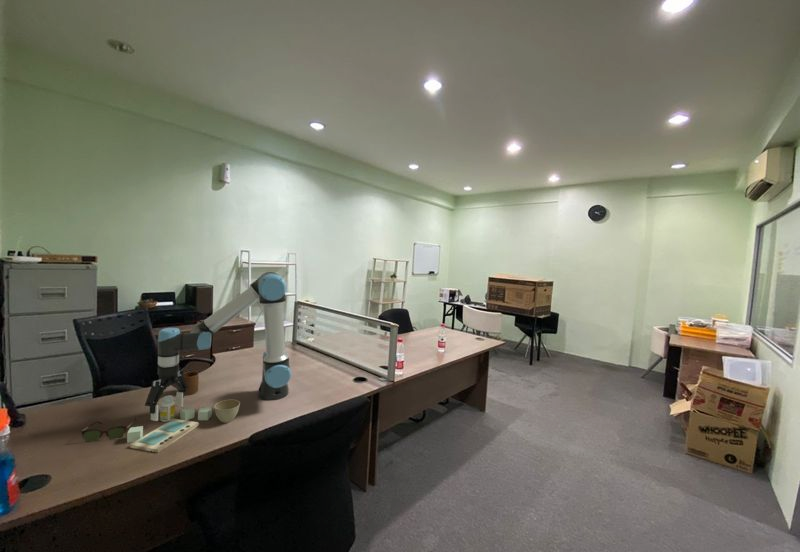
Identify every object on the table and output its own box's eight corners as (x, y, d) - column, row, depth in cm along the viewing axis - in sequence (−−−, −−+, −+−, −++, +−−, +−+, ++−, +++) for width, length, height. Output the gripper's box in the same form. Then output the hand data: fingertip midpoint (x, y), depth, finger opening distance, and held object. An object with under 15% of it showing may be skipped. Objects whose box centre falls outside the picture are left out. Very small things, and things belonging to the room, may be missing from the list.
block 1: (142, 435, 133) (142, 425, 133) (140, 441, 130) (140, 431, 129) (130, 437, 131) (130, 427, 131) (127, 443, 128) (127, 432, 127)
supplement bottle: (161, 423, 143) (161, 401, 142) (159, 418, 146) (159, 396, 146) (176, 419, 146) (176, 398, 146) (173, 414, 150) (174, 393, 149)
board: (198, 425, 143) (198, 422, 143) (157, 452, 123) (157, 449, 123) (173, 421, 145) (173, 418, 145) (129, 447, 125) (129, 443, 125)
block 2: (194, 417, 149) (194, 408, 149) (185, 421, 146) (185, 412, 145) (189, 414, 151) (189, 406, 151) (179, 418, 147) (180, 409, 147)
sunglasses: (79, 444, 126) (80, 430, 126) (97, 427, 139) (97, 415, 139) (127, 438, 131) (127, 425, 131) (139, 422, 145) (140, 410, 145)
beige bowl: (220, 414, 153) (220, 399, 153) (242, 414, 154) (243, 399, 153) (209, 425, 143) (210, 409, 143) (234, 426, 144) (234, 410, 144)
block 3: (211, 415, 151) (211, 407, 151) (207, 420, 147) (207, 411, 147) (202, 415, 151) (202, 407, 151) (197, 420, 147) (198, 411, 147)
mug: (174, 399, 164) (174, 380, 163) (168, 394, 168) (168, 376, 168) (200, 392, 173) (201, 374, 173) (194, 387, 178) (195, 370, 177)
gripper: (183, 355, 157) (182, 399, 159) (134, 373, 133) (133, 425, 135) (197, 356, 156) (196, 401, 158) (150, 375, 132) (149, 428, 134)
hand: (167, 412), depth 146 cm, fingers open, 12 cm apart
